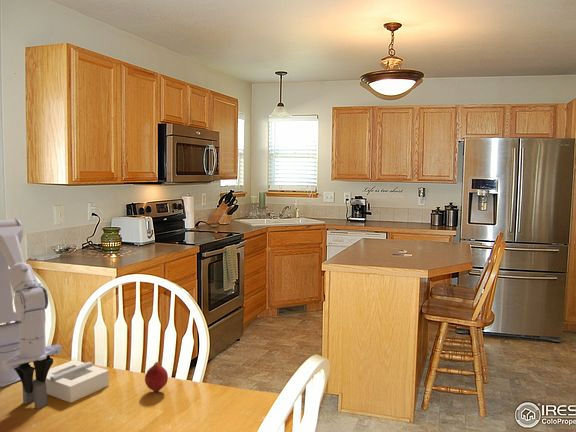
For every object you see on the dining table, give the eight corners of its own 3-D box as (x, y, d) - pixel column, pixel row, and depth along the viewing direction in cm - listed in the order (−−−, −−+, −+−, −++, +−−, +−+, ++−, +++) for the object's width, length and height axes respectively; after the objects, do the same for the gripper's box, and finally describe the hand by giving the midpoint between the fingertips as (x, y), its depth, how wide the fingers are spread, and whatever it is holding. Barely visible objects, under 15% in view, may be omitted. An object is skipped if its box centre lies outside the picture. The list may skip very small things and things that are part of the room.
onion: (162, 397, 136) (161, 367, 135) (141, 395, 137) (140, 365, 136) (171, 388, 142) (171, 359, 141) (151, 385, 143) (151, 357, 142)
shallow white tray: (35, 389, 139) (35, 371, 139) (74, 374, 150) (74, 357, 149) (70, 402, 132) (70, 383, 132) (109, 385, 143) (108, 367, 142)
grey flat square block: (23, 402, 132) (22, 381, 131) (32, 398, 134) (31, 378, 133) (38, 408, 129) (37, 387, 128) (47, 404, 131) (46, 383, 130)
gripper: (14, 348, 121) (16, 404, 123) (68, 331, 134) (70, 382, 135) (-4, 342, 125) (-2, 397, 126) (50, 326, 137) (52, 376, 139)
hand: (34, 389), depth 131 cm, fingers open, 3 cm apart
